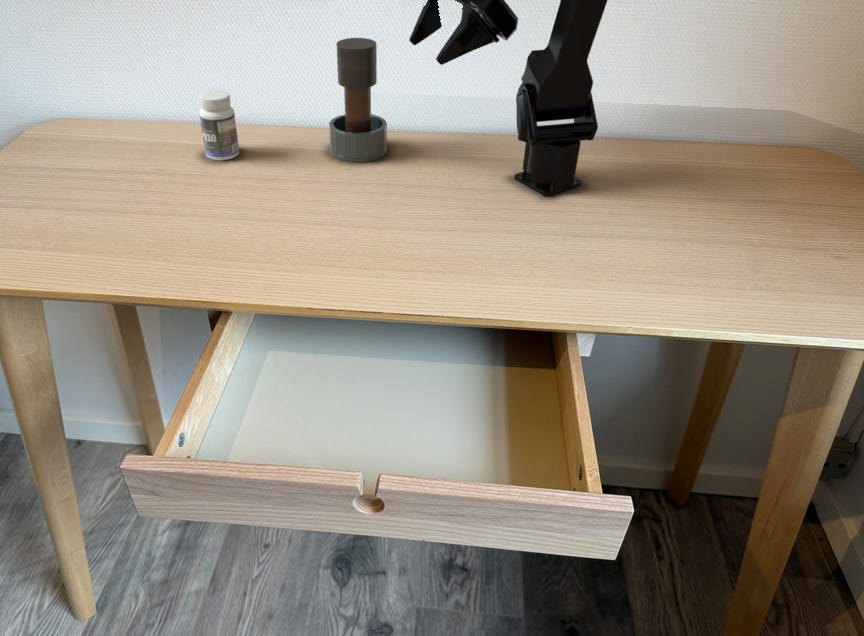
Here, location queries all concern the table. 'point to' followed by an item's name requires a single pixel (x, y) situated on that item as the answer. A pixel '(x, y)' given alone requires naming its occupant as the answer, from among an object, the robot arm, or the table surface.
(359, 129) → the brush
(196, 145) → the table surface
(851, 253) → the table surface
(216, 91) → the pill bottle
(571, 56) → the robot arm
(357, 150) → the cup
